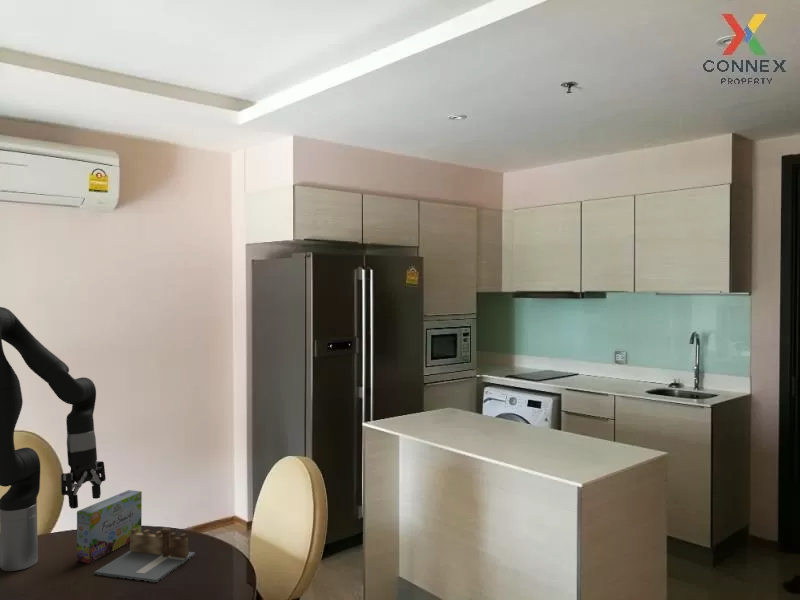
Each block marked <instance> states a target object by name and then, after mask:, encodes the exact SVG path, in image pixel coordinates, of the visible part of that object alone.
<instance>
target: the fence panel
mask: <svg viewBox="0 0 800 600" xmlns="http://www.w3.org/2000/svg"><path fill="white" fill-rule="evenodd" d="M129 551H132V552H141V553H149V554H158V555H161V554H163V539H162V532H161V530H157V531H155V534H154V533H151V529H145V530H143V531H142V532H141V533H138V529H137V528H134V529H132V530H131V534H130V543H129Z"/></svg>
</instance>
